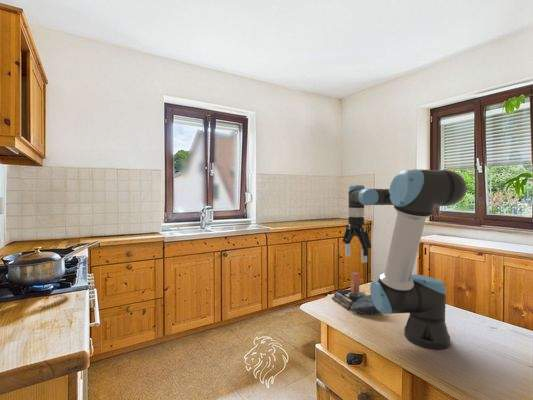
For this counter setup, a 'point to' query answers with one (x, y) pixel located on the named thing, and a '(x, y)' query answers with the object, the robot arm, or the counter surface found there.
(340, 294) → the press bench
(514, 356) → the counter surface
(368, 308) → the rock
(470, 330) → the counter surface
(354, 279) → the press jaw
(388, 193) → the robot arm
